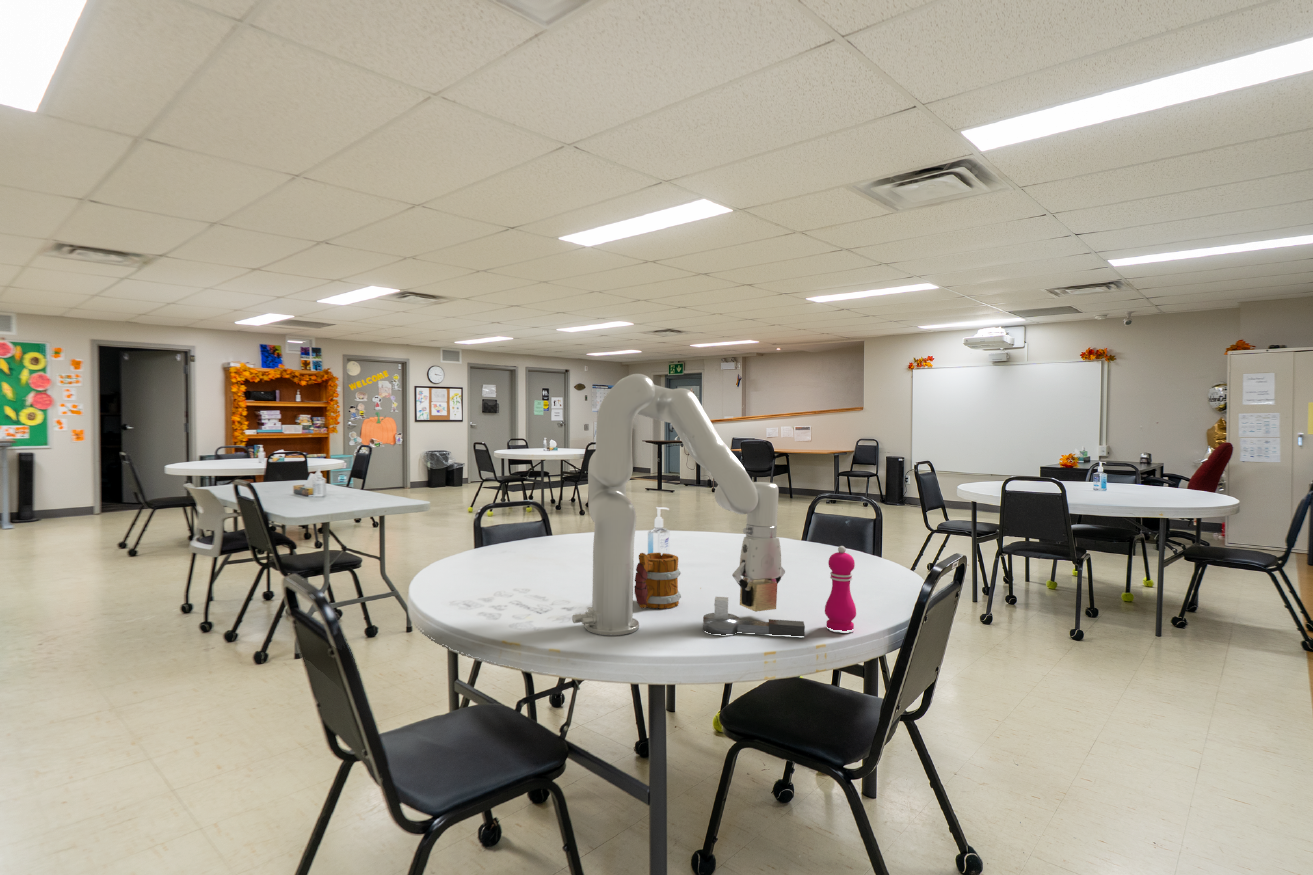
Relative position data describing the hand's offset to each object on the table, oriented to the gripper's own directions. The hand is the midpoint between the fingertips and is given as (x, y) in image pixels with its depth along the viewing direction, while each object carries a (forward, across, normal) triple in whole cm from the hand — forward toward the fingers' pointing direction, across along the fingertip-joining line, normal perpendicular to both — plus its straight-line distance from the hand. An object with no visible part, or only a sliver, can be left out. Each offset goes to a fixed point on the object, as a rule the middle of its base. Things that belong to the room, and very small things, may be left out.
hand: (757, 603), depth 161 cm
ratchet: (+4, -7, -8) cm, 11 cm away
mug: (+5, -17, +22) cm, 28 cm away
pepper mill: (+4, +13, -15) cm, 20 cm away
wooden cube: (+1, 0, 0) cm, 1 cm away
